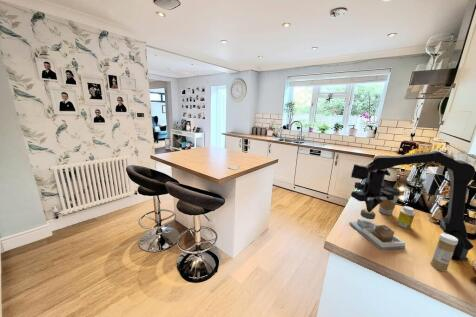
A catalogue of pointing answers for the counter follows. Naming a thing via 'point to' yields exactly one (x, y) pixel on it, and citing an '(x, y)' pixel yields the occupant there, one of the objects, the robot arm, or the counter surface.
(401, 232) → the counter surface
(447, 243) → the sprinkles bottle
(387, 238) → the brown block
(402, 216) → the supplement bottle
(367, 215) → the wheel
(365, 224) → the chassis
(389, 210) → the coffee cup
